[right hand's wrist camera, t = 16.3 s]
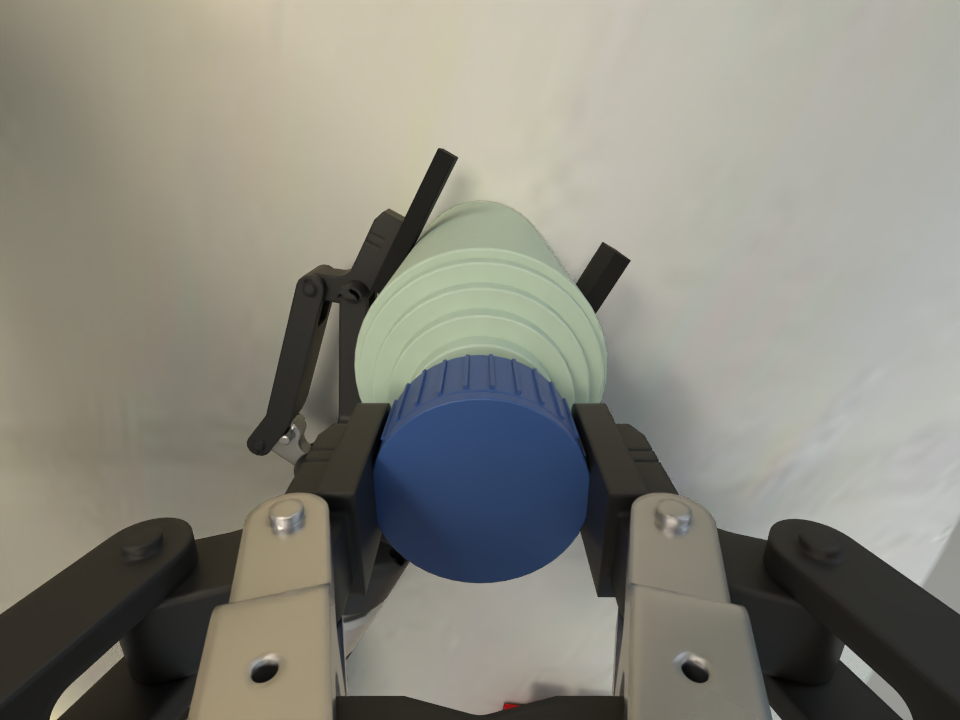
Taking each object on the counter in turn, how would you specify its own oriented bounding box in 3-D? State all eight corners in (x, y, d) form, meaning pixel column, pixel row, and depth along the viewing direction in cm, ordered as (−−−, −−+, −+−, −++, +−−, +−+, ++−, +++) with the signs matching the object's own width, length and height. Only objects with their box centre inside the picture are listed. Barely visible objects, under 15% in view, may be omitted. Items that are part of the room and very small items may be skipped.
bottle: (537, 187, 28) (658, 263, 9) (556, 320, 31) (682, 600, 12) (400, 215, 29) (231, 344, 9) (431, 343, 32) (351, 646, 12)
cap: (483, 310, 11) (483, 346, 9) (614, 441, 12) (641, 500, 10) (347, 437, 12) (319, 495, 10) (478, 545, 13) (478, 618, 11)
